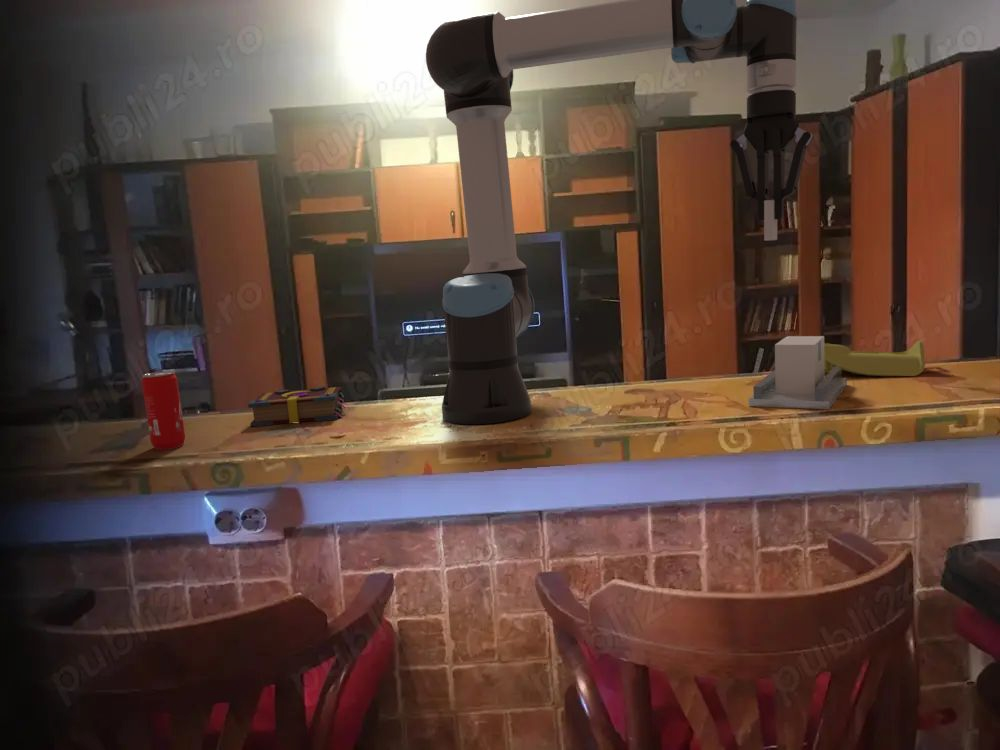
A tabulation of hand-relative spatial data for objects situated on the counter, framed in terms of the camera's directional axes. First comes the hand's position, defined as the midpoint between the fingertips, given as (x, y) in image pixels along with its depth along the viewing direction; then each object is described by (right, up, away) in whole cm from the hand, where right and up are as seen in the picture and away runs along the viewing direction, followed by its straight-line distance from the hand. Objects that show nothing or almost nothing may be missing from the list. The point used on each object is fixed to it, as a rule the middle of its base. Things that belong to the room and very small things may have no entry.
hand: (770, 240), depth 131 cm
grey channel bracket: (+5, -26, 0) cm, 26 cm away
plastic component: (+22, -22, +16) cm, 36 cm away
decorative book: (-81, -31, +13) cm, 88 cm away
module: (+5, -25, 0) cm, 25 cm away
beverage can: (-99, -34, -4) cm, 105 cm away
